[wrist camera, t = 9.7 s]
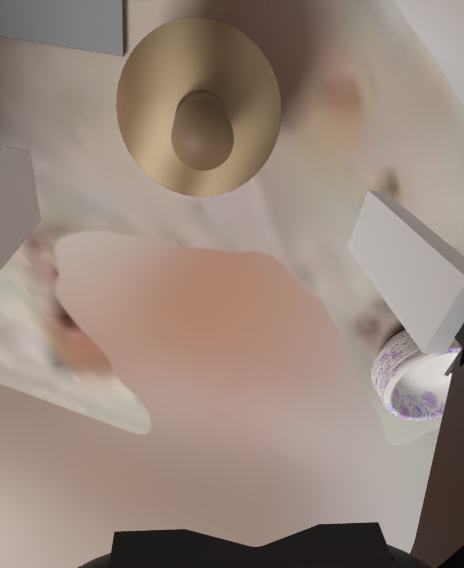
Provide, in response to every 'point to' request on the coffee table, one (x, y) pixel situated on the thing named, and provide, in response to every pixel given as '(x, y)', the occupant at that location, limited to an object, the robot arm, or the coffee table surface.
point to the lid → (198, 106)
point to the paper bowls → (412, 378)
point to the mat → (66, 23)
